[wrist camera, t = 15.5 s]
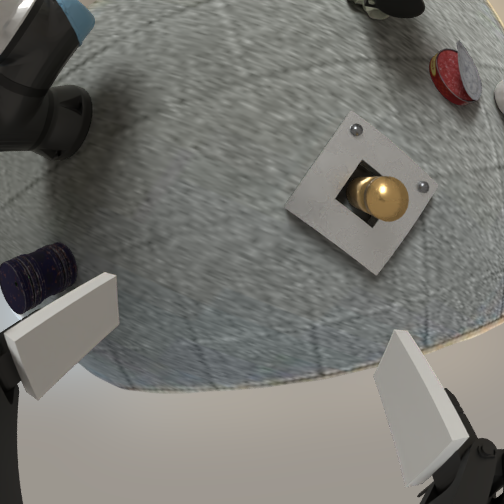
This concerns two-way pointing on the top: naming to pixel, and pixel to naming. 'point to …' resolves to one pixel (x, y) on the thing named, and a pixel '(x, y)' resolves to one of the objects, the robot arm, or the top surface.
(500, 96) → the teacup
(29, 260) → the storage jar
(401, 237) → the jig
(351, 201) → the gold metal cylinder
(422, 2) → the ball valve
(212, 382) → the top surface
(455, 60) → the canned food
